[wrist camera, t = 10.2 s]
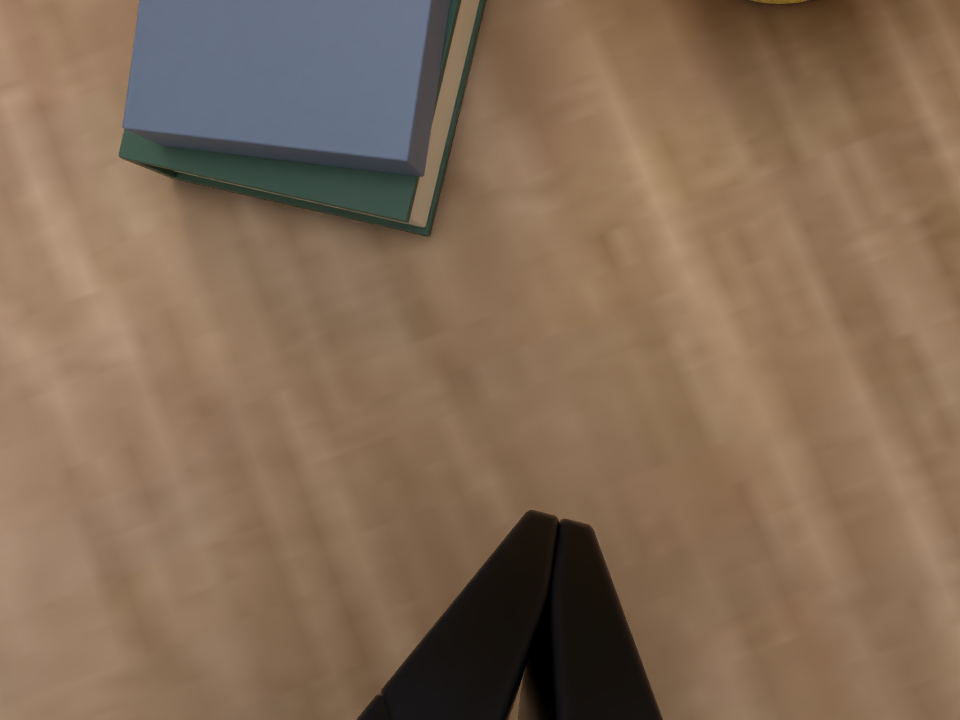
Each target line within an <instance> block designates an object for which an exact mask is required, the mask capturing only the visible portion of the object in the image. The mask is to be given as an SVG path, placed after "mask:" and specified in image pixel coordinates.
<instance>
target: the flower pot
mask: <svg viewBox="0 0 960 720" xmlns="http://www.w3.org/2000/svg"><path fill="white" fill-rule="evenodd" d="M751 1H756V2H762V3H770V4H789V3H798V2H804V1H809V0H751Z"/></svg>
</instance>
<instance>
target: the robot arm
mask: <svg viewBox="0 0 960 720" xmlns="http://www.w3.org/2000/svg"><path fill="white" fill-rule="evenodd" d="M522 677H523V680H522ZM521 680H522V686H521V694H520V703H519V715H518V720H663V719H662V716H661V713H660V711H659V708H658V705H657V702H656V700H655V697H654V694H653V691H652V689H651V686H650V683H649V680H648V678H647V675H646V672H645V670H644V667H643V664H642V661H641V659H640V656H639V653H638V650H637V648H636V645H635V642H634V639H633V637H632V634H631V631H630V628H629V626H628V623H627V620H626V617H625V615H624V612H623V609H622V606H621V604H620V601H619V598H618V595H617V593H616V590H615V587H614V584H613V582H612V579H611V576H610V573H609V571H608V568H607V565H606V562H605V560H604V557H603V554H602V551H601V549H600V546H599V543H598V540H597V538H596V535H595V532H594V530H593V528H592V527H591V526H590V525H588V524H584V523H581V522H577V521H573V520H569V519H562V520H561V521H560V522H559V520H558V518H557V517H556V516H554V515H550V514H546V513H543V512H539V511H535V510H529V511H528V512H526V513H525V514H524V516H523V517H522V518H521V519H520V520H519V522H518V523H517V524H516V525H515V527H514V528H513V529H512V530H511V531H510V533H509V534H508V535H507V536H506V538H505V539H504V540H503V541H502V542H501V544H500V545H499V546H498V547H497V549H496V550H495V551H494V552H493V554H492V555H491V556H490V557H489V558H488V560H487V561H486V562H485V563H484V565H483V566H482V567H481V568H480V569H479V571H478V572H477V573H476V574H475V576H474V577H473V578H472V579H471V580H470V582H469V583H468V584H467V585H466V587H465V588H464V589H463V590H462V592H461V593H460V594H459V595H458V596H457V598H456V599H455V600H454V601H453V603H452V604H451V605H450V606H449V607H448V609H447V610H446V611H445V612H444V614H443V615H442V616H441V617H440V618H439V620H438V621H437V622H436V623H435V625H434V626H433V627H432V628H431V629H430V631H429V632H428V633H427V634H426V636H425V637H424V638H423V639H422V641H421V642H420V643H419V644H418V645H417V647H416V648H415V649H414V650H413V652H412V653H411V654H410V655H409V656H408V658H407V659H406V660H405V661H404V663H403V664H402V665H401V666H400V667H399V669H398V670H397V671H396V672H395V674H394V675H393V676H392V677H391V678H390V680H389V681H388V682H387V683H386V685H385V686H384V687H383V688H382V690H381V694H380V695H376V696H375V698H374V699H373V700H372V701H371V702H370V704H369V705H368V706H367V707H366V709H365V710H364V711H363V712H362V713H361V715H360V716H359V717H358V718H357V719H356V720H509V717H510V714H511V711H512V708H513V705H514V702H515V699H516V696H517V693H518V690H519V687H520V683H521Z"/></svg>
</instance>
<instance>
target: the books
mask: <svg viewBox="0 0 960 720" xmlns="http://www.w3.org/2000/svg"><path fill="white" fill-rule="evenodd" d="M485 2H486V0H140V3H139V10H138V17H137V25H136V32H135V39H134V47H133V54H132V62H131V69H130V76H129V84H128V91H127V98H126V106H125V113H124V121H123V128H124V133H123V138H122V142H121V147H120V152H119V157H120V158H122V159H125V160H127V161H130V162H132V163H135V164H137V165H140V166H142V167H145V168H147V169H150V170H152V171H155V172H157V173H160V174H162V175H165V176H167V177H170V178H173V179H177V180H182V181H186V182H191V183H195V184H199V185H204V186H208V187H213V188H217V189H221V190H226V191H230V192H235V193H239V194H243V195H248V196H252V197H257V198H261V199H265V200H270V201H274V202H279V203H283V204H288V205H292V206H296V207H301V208H305V209H310V210H314V211H318V212H323V213H327V214H332V215H336V216H340V217H345V218H349V219H354V220H358V221H362V222H367V223H371V224H376V225H380V226H384V227H389V228H393V229H398V230H402V231H406V232H411V233H415V234H420V235H424V236H430V233H431V229H432V225H433V220H434V216H435V212H436V208H437V204H438V199H439V195H440V191H441V187H442V183H443V178H444V174H445V170H446V166H447V162H448V157H449V153H450V149H451V145H452V141H453V137H454V132H455V128H456V124H457V120H458V116H459V111H460V107H461V103H462V99H463V95H464V90H465V86H466V82H467V78H468V74H469V69H470V65H471V61H472V57H473V53H474V49H475V44H476V40H477V36H478V32H479V28H480V23H481V19H482V15H483V11H484V7H485Z"/></svg>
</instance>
